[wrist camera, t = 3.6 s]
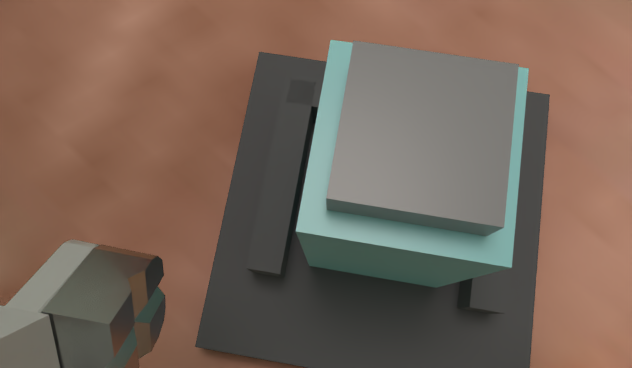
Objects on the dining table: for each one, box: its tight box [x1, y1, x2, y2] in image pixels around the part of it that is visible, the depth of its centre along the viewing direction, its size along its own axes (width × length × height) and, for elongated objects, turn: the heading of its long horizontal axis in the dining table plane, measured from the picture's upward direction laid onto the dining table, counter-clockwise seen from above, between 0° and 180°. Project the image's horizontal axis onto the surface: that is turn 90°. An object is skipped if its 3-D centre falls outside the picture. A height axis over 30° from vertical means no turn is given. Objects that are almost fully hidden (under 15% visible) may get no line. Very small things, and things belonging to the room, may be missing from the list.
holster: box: [195, 52, 550, 368], centre depth 17 cm, size 10×10×2 cm
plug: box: [296, 40, 529, 288], centre depth 13 cm, size 4×4×8 cm
